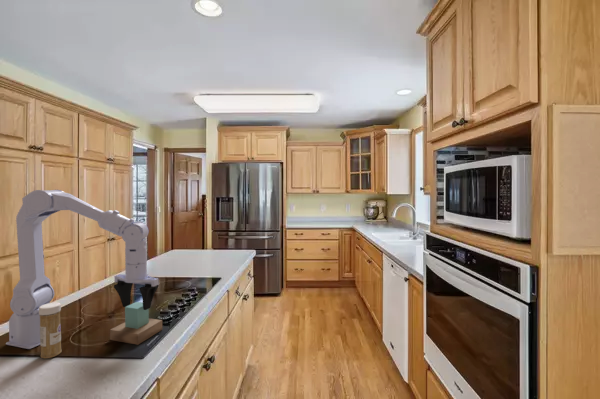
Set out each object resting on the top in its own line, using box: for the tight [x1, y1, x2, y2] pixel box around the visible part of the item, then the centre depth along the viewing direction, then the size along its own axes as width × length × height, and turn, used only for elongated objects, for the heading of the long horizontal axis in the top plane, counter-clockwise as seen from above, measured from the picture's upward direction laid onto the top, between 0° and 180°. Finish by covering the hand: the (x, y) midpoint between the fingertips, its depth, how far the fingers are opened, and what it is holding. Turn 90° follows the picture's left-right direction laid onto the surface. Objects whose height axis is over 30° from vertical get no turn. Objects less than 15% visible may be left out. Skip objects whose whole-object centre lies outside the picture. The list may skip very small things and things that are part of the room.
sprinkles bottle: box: [39, 302, 62, 359], centre depth 85 cm, size 5×5×14 cm
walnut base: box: [109, 318, 163, 346], centre depth 97 cm, size 10×10×3 cm
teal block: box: [124, 301, 150, 329], centre depth 96 cm, size 4×4×6 cm
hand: (136, 307), depth 96 cm, fingers open, 7 cm apart
